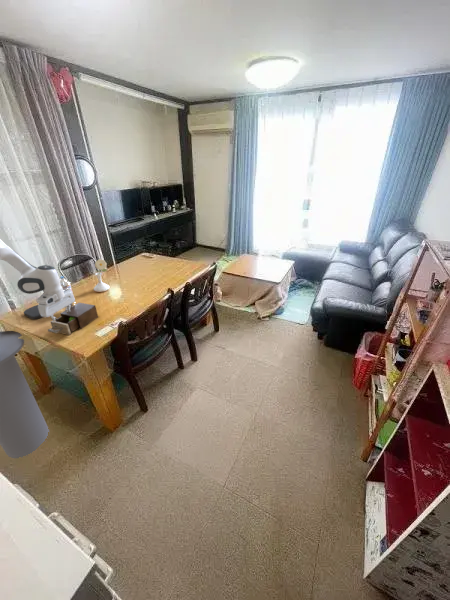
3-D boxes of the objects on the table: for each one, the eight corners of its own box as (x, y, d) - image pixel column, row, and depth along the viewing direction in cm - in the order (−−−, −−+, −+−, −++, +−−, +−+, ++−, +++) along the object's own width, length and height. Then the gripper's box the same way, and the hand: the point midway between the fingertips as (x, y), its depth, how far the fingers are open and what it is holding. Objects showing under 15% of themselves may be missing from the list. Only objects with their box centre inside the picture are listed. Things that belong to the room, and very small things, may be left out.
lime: (80, 315, 155) (79, 323, 156) (74, 314, 156) (73, 322, 157) (73, 316, 151) (73, 324, 151) (67, 315, 152) (66, 323, 152)
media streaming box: (34, 321, 159) (33, 316, 158) (22, 314, 165) (20, 310, 164) (58, 310, 171) (56, 307, 169) (45, 305, 177) (44, 301, 175)
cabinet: (81, 329, 152) (77, 316, 148) (64, 325, 155) (60, 313, 151) (98, 317, 165) (95, 305, 161) (82, 313, 168) (78, 302, 164)
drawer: (62, 339, 141) (58, 329, 138) (46, 336, 144) (42, 326, 141) (87, 322, 157) (84, 313, 154) (71, 319, 160) (69, 310, 157)
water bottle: (74, 307, 175) (64, 273, 163) (80, 310, 171) (70, 276, 160) (64, 311, 170) (53, 277, 158) (69, 315, 166) (58, 279, 155)
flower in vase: (92, 293, 194) (84, 262, 182) (96, 287, 204) (88, 257, 192) (110, 292, 197) (104, 261, 185) (113, 286, 206) (107, 256, 195)
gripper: (65, 286, 149) (71, 306, 155) (33, 301, 131) (41, 324, 138) (74, 287, 147) (80, 308, 153) (42, 303, 130) (51, 326, 136)
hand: (61, 315), depth 145 cm, fingers open, 8 cm apart
